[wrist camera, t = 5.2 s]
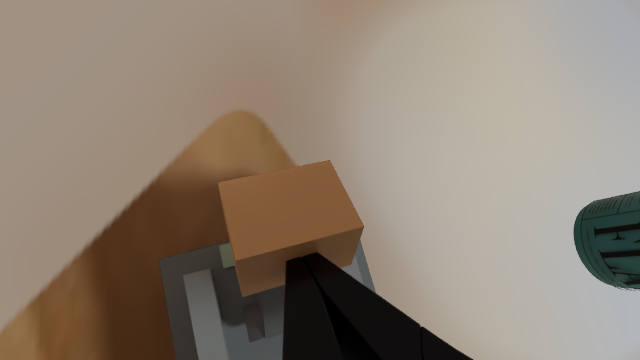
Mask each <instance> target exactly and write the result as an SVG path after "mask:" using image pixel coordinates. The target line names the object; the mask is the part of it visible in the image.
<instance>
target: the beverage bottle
mask: <svg viewBox="0 0 640 360" xmlns="http://www.w3.org/2000/svg"><path fill="white" fill-rule="evenodd" d="M574 241H575V246H576V250H577V252H578V255H579V257H580V259H581V261H582V262H583V264H584V265H585V267H586V268H587V269H588V271H589V272H590V273H592V275H593V276H595V277H596V278H597V279H599V280H600V281H602V282H604V283H606V284H609V285H612V286H614V287H615V286H616V287H621V288H627V289H628V288H634V289H640V191H639V192H634V193H630V194H625V195H620V196H615V197H611V198H607V199H602V200H597V201H595V202H594V201H593V203H590V204H589V205H587V206H586V207H584V208H583V209H582V210H581V211H580V212H579V214H578V216H577V218H576V221H575V224H574Z"/></svg>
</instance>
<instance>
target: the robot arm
mask: <svg viewBox="0 0 640 360" xmlns="http://www.w3.org/2000/svg"><path fill="white" fill-rule="evenodd" d="M282 360H473V359H471V358H470V357H468V356H466V355H465V354H463V353H461V352H460V351H458V350H456V349H455V348H454V347H452V346H450V345H449V344H448V343H446V342H445V341H443V340H442V339H440V338H439V337H437V336H436V335H434V334H433V333H431V332H430V331H428V330H427V329H426V328H424V327H420V324H419V323H417V322H416V321H414V320H413V319H411V318H410V317H409V316H407V315H406V314H404V313H403V312H402V311H400V310H399V309H397V308H396V307H394V306H393V305H391V304H390V303H389V302H387V301H386V300H385V299H383V298H382V297H380V296H379V295H377V294H376V293H375V292H373V291H372V290H370V289H369V288H368V287H366V286H365V285H363V284H362V283H361V282H359V281H358V280H356V279H355V278H354V277H352V276H351V275H349V274H348V273H346V272H345V271H344V270H342V269H341V268H339V267H338V266H337V265H335V264H334V263H332V262H331V261H329V260H328V259H327V258H325V257H324V256H322V255H321V254H320V253H318V252H315V253H312V254H308V255H305V256H303V257H297V258H294V259H290V260H287V261H286V269H285V295H284V322H283V348H282Z"/></svg>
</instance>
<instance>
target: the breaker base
mask: <svg viewBox="0 0 640 360" xmlns="http://www.w3.org/2000/svg"><path fill="white" fill-rule="evenodd" d="M159 265H160V270H161V276H162V282H163V288H164V293H165V299H166V305H167V310H168V316H169V322H170V328H171V333H172V339H173V345H174V351H175V356H176V360H282V348H283V334H280V335H277V336H274V337H271V338H268V339H265V338H263V339H260V340H257V341H254V342H251V343H250V341H249V337H248V333H247V328H246V323H245V319H244V314H243V309H242V307H243V306H246V305H250V304H253V303H256V296H255V294H251V295H248V296H245V297H242V294H241V290H240V285H239V281H238V276H237V272H236V268H235V263H234V259H233V254H232V250H231V245H230V241H229V242H225V243H221V244H217V245H213V246H209V247H205V248H201V249H197V250H193V251H189V252H185V253H181V254H177V255H173V256H169V257H165V258H161V259H159ZM341 269H342V270H344V271H345V272H346V273H348V274H349V275H351V276H352V277H354V278H355V279H356V280H358V281H359V282H361V283H362V284H363V285H365V286H366V287H368V288H369V289H370V290H372V291H373V292H375V289H374V285H373V282H372V279H371V275H370V272H369V269H368V265H367V262H366V258H365V255H364V251H363V248H362V245H361V241H360V240H359V243H358V247H357V250H356V253H355V256H354V259H353V262H352V265H349V266H345V267H342V268H341ZM375 293H376V292H375Z"/></svg>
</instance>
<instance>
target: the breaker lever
mask: <svg viewBox="0 0 640 360" xmlns="http://www.w3.org/2000/svg"><path fill="white" fill-rule="evenodd" d="M218 187H219V192H220V197H221V203H222V208H223V213H224V218H225V223H226V228H227V232H228V237H229V241H230V245H231V250H232V254H233V259H234V263H235V268H236V272H237V276H238V281H239V285H240V290H241V294H242V297H245V296H248V295H251V294H255V296H256V303H253V304H250V305H246V306H243V307H242V309H243V314H244V319H245V323H246V328H247V333H248V337H249V341H250V343H251V342H254V341H257V340H260V339H263V338H265V339H268V338H271V337H274V336H277V335H280V334H283V322H284V295H285V269H286V261H287V260H290V259H294V258H297V257H303V256H305V255H308V254H312V253H315V252H318V253H320V254H321V255H322V256H324V257H325V258H327V259H328V260H329V261H331V262H332V263H334V264H335V265H337V266H338V267H339V268H342V267H345V266H349V265H352V262H353V259H354V256H355V253H356V250H357V247H358V243H359V240H360V237H361V234H362V231H363V228H364V225H363V223H362V221H361V220H360V218H359V216H358V214H357V212H356V210H355V208H354V206H353V204H352V202H351V200H350V198H349V196H348V194H347V192H346V190H345V189H344V187H343V185H342V183H341V181H340V179H339V177H338V175H337V173H336V171H335V169H334V167H333V166H332V163H331V162H330V160H328V161H323V162H318V163H313V164H308V165H303V166H298V167H293V168H288V169H283V170H277V171H272V172H267V173H262V174H257V175H252V176H247V177H242V178H237V179H232V180H227V181H222V182H218Z"/></svg>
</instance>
